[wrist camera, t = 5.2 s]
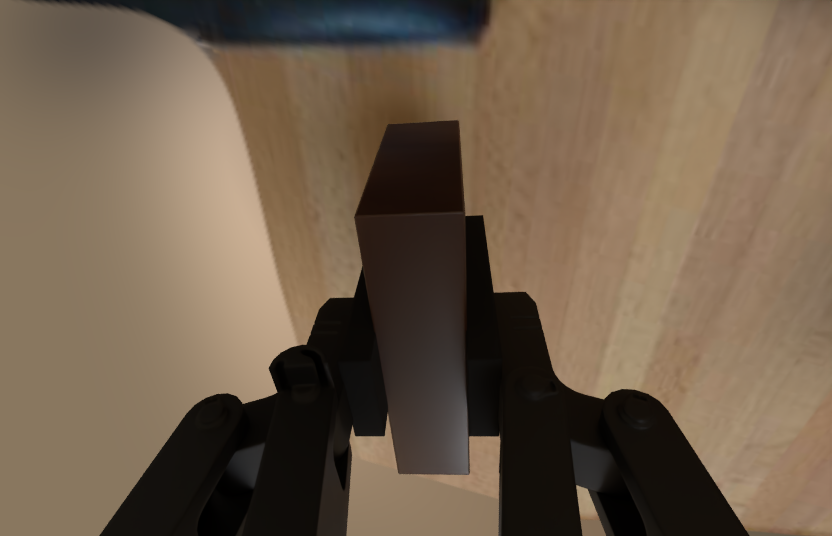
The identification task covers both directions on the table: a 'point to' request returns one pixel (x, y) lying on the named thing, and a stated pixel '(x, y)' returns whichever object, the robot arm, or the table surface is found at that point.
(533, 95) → the table surface
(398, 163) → the dark brown brick
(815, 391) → the table surface
